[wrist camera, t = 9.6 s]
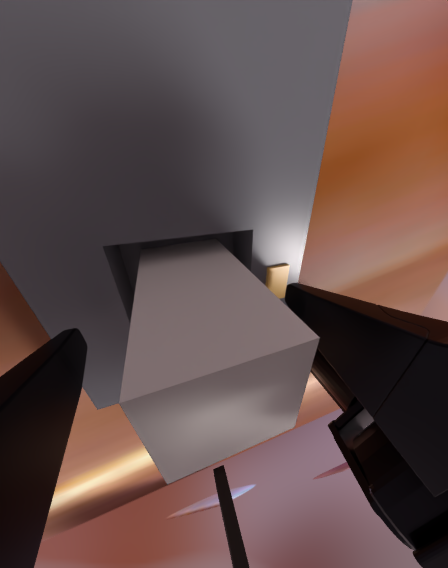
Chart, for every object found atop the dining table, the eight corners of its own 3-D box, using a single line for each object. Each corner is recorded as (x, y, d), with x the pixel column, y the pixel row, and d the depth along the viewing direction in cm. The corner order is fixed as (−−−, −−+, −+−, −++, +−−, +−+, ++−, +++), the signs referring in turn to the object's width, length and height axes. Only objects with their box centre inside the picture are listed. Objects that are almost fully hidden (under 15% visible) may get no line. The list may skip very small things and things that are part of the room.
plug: (220, 297, 13) (294, 427, 6) (158, 311, 12) (167, 484, 5) (215, 238, 11) (320, 337, 4) (140, 249, 10) (119, 403, 3)
